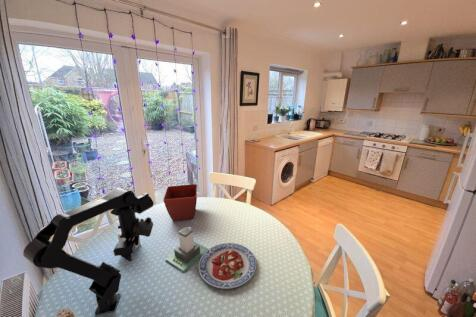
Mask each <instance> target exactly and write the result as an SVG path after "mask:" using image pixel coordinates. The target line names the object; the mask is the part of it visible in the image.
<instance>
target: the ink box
mask: <svg viewBox="0 0 476 317" xmlns="http://www.w3.org/2000/svg"><path fill="white" fill-rule="evenodd" d="M120 234H121V230H120V231H119V232H118V233H117V239H118V242H122V241H125V240H126V239H125V238H120ZM140 245H141V239H140V237H139V244H138V245H135V250H134V252H135V251H136V250H137V248H138V247H140Z"/></svg>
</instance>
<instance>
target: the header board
mask: <svg viewBox="0 0 476 317" xmlns="http://www.w3.org/2000/svg"><path fill="white" fill-rule="evenodd" d="M193 244H194V249H192V250H191V251H190V252H189V253H187V254H186V253H184V252H182V251H181V250H180V245H178V246H177V247H176V248H174V250H173V253H172V254H171V255H169V256H168V257H167V258H166V259H165V261H166V262H167V263H168V264H170V265H171V266H173V267H174V268H176V269H178V270H179V271H180V272H181V273H185V272H186V271H187V270H189V268H191V266H193V265H194V264H195V263H196V262H197V261H198V260H200V259H201V257H202V255H203V254H204V253H205V252H206V251H207V250H208V249H209V248H207V247H205V246H203V245H202V244H200V243H199V242H196V241H194V240H193Z"/></svg>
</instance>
